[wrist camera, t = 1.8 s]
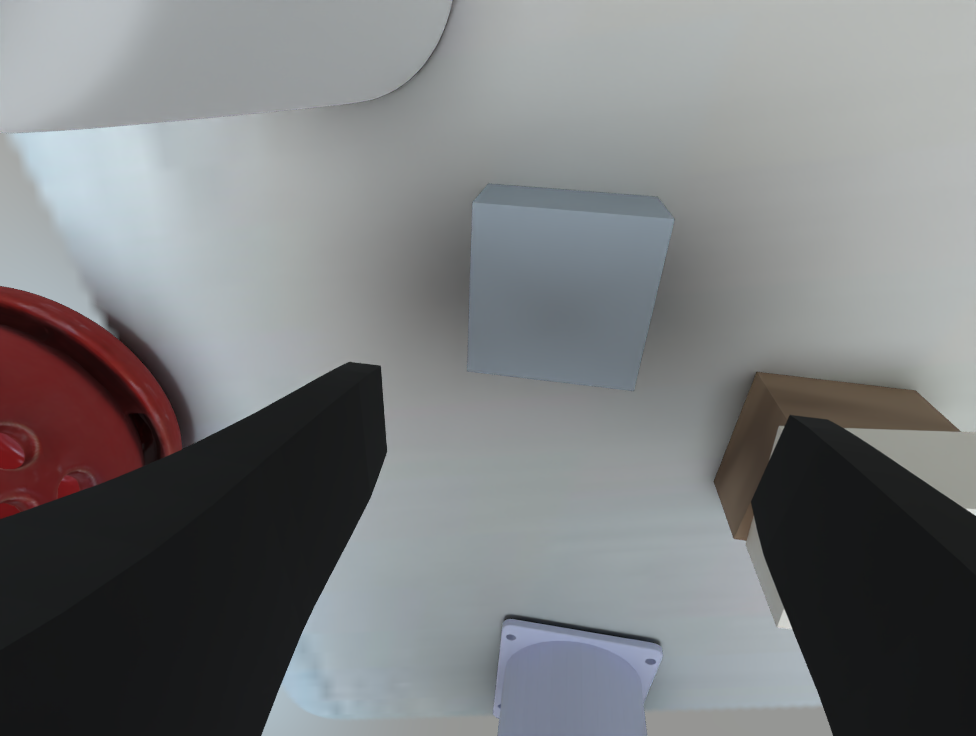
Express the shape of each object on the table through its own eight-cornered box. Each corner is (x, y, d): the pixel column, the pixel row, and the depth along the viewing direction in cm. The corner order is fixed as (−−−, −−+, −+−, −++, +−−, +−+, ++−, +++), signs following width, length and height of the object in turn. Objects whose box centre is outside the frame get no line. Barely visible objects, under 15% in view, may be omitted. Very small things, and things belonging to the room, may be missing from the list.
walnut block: (847, 497, 19) (890, 562, 16) (712, 477, 19) (733, 538, 17) (912, 387, 16) (976, 445, 14) (755, 369, 17) (787, 420, 14)
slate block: (624, 344, 17) (633, 391, 14) (482, 329, 18) (467, 371, 15) (656, 195, 14) (674, 219, 12) (489, 182, 15) (472, 202, 12)
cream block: (910, 555, 16) (975, 646, 13) (745, 544, 17) (777, 627, 14) (975, 432, 13) (1070, 514, 11) (778, 426, 14) (823, 501, 12)
